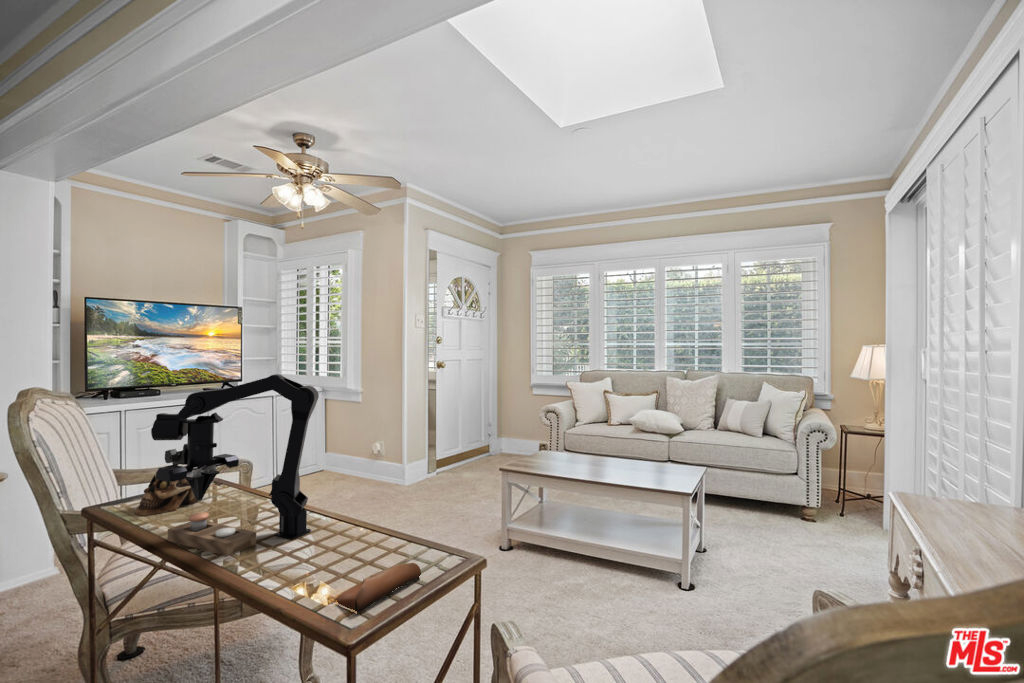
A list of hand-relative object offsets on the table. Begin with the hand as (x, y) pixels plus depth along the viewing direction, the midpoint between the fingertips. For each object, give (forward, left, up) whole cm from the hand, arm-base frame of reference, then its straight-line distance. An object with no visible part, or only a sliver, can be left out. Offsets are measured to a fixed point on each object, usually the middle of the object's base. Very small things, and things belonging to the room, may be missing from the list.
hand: (198, 500), depth 130 cm
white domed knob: (-10, 0, -10) cm, 14 cm away
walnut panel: (-5, 0, -10) cm, 11 cm away
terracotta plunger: (0, 0, -7) cm, 8 cm away
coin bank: (+33, -14, -10) cm, 37 cm away
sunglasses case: (-59, +2, -11) cm, 60 cm away
